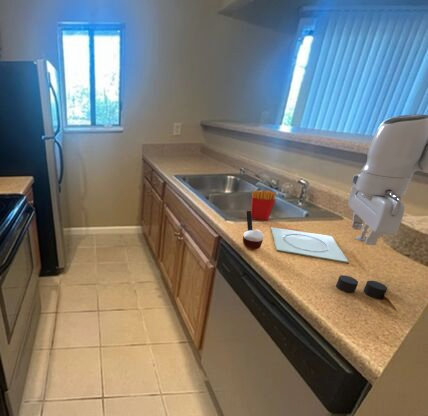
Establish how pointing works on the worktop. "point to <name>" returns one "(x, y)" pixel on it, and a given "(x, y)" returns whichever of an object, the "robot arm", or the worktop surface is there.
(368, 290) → the dot
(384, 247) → the worktop surface
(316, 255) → the pale blue square plate
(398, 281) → the worktop surface
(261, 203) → the french fries
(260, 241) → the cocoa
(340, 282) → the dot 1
